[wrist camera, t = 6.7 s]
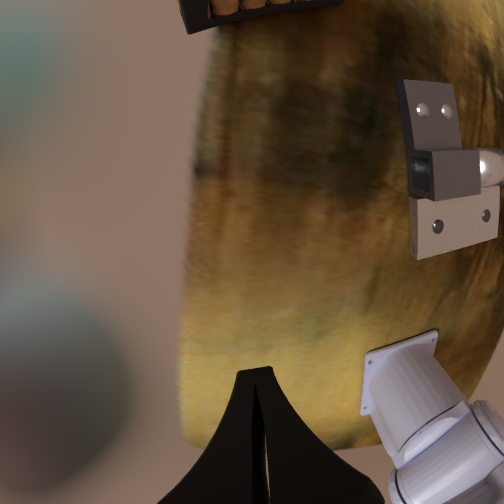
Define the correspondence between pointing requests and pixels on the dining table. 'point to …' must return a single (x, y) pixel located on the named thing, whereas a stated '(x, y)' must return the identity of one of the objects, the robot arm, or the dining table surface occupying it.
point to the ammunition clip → (238, 10)
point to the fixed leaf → (458, 213)
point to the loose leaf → (436, 142)
